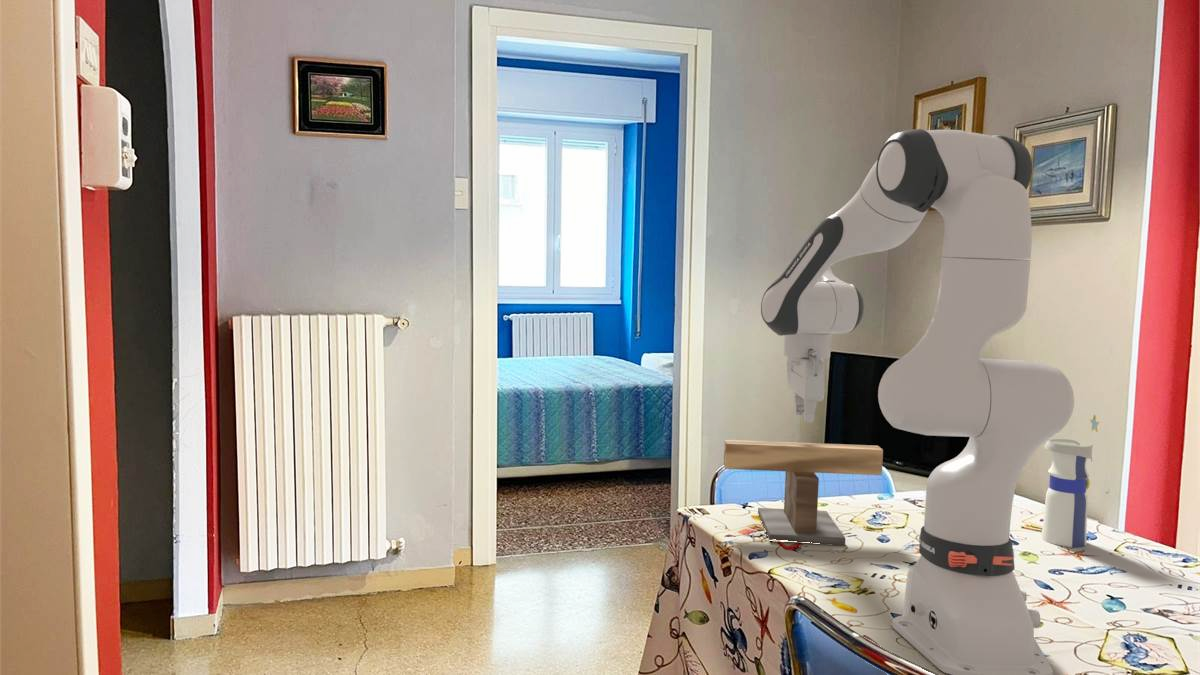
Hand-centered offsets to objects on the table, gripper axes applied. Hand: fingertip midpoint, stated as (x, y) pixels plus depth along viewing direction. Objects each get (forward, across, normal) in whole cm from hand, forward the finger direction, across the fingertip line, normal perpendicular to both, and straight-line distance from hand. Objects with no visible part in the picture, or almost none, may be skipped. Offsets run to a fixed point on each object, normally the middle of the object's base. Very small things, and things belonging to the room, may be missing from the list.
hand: (804, 418), depth 164 cm
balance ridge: (+22, 0, 0) cm, 22 cm away
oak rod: (+10, 0, 0) cm, 10 cm away
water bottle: (+22, +1, -51) cm, 56 cm away
